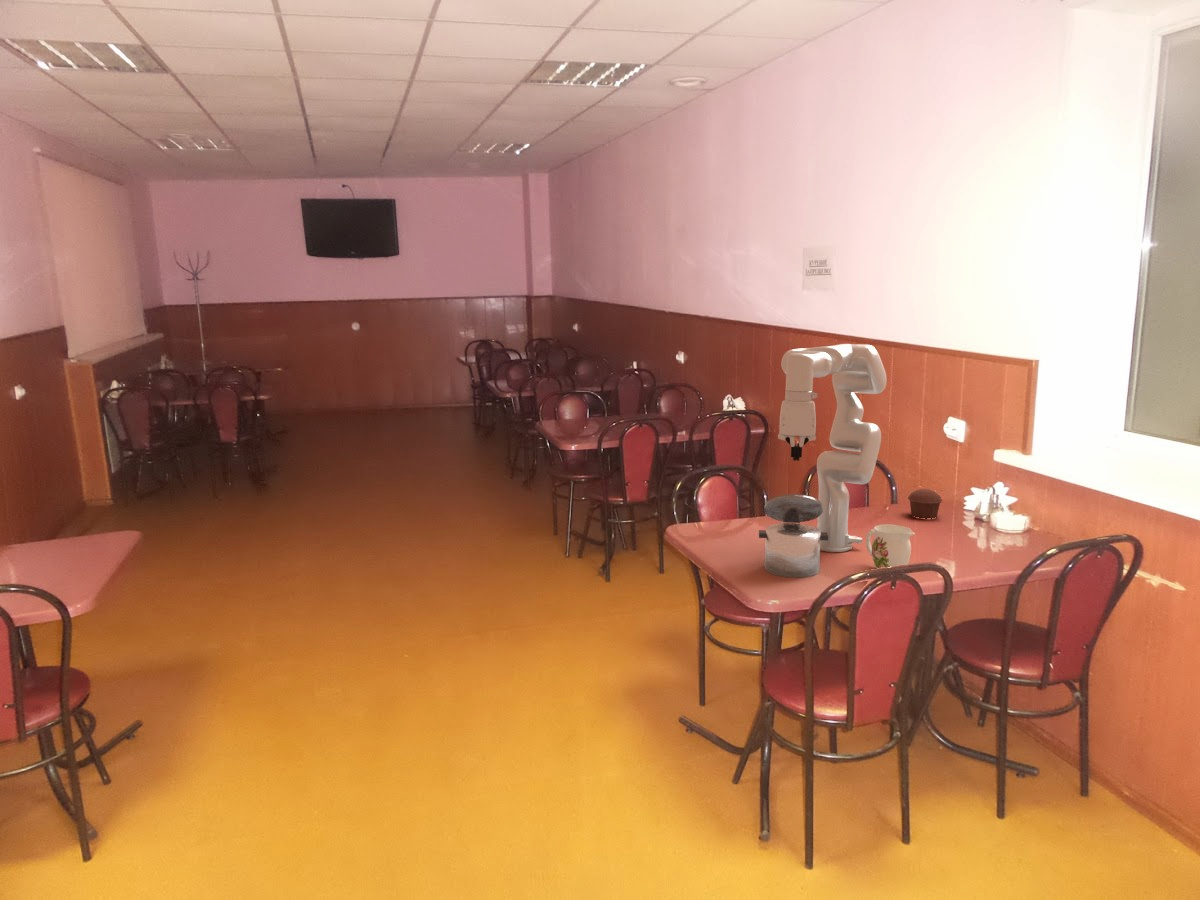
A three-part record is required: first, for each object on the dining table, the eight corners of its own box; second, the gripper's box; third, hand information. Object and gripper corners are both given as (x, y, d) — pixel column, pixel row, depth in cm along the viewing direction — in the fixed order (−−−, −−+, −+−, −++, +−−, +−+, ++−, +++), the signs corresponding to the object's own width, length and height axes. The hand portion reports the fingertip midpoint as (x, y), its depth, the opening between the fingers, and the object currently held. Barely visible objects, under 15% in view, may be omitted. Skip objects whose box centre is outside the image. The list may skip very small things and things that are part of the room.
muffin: (941, 514, 318) (943, 488, 316) (941, 522, 308) (943, 495, 306) (907, 511, 322) (908, 485, 320) (906, 519, 312) (907, 492, 310)
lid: (763, 522, 266) (763, 513, 267) (819, 524, 263) (819, 515, 265) (765, 497, 251) (765, 488, 252) (825, 499, 248) (825, 490, 250)
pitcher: (878, 559, 267) (881, 516, 264) (924, 576, 251) (927, 531, 248) (851, 565, 262) (854, 521, 259) (896, 583, 246) (899, 536, 243)
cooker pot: (823, 560, 266) (824, 523, 264) (828, 579, 250) (830, 539, 247) (757, 557, 269) (758, 520, 267) (758, 576, 253) (759, 536, 250)
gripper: (824, 395, 248) (821, 458, 252) (771, 394, 251) (769, 456, 254) (826, 398, 241) (823, 463, 244) (772, 397, 243) (770, 461, 247)
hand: (796, 459), depth 249 cm, fingers closed
